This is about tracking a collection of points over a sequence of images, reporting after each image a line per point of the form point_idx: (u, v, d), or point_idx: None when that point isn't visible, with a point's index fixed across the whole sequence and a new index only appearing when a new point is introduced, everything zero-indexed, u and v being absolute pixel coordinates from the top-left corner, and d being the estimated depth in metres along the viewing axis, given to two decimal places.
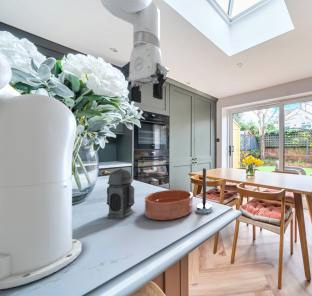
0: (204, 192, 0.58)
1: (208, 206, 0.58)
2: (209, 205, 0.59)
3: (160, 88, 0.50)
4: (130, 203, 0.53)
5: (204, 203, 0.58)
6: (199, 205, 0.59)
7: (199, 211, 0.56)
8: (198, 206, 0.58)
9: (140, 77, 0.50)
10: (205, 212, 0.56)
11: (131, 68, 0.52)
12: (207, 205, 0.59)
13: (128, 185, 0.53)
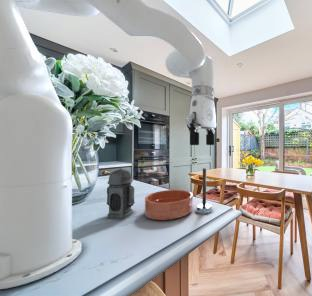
0: (204, 192, 0.58)
1: (208, 206, 0.58)
2: (209, 205, 0.59)
3: None
4: (130, 203, 0.53)
5: (204, 203, 0.58)
6: (199, 205, 0.59)
7: (199, 211, 0.56)
8: (198, 206, 0.58)
9: (210, 127, 0.57)
10: (205, 212, 0.56)
11: (203, 115, 0.53)
12: (207, 205, 0.59)
13: (128, 185, 0.53)
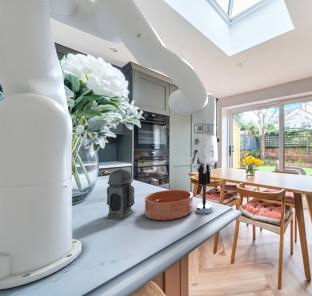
0: (204, 192, 0.58)
1: (208, 206, 0.58)
2: (209, 205, 0.59)
3: None
4: (130, 203, 0.53)
5: (204, 203, 0.58)
6: (199, 205, 0.59)
7: (199, 211, 0.56)
8: (198, 206, 0.58)
9: (211, 162, 0.57)
10: (205, 212, 0.56)
11: (205, 153, 0.54)
12: (207, 205, 0.59)
13: (128, 185, 0.53)
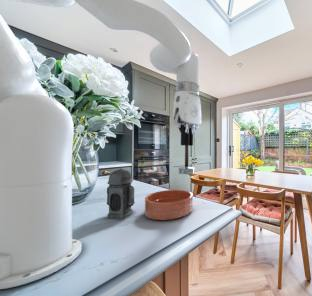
0: (186, 153, 0.57)
1: (190, 168, 0.57)
2: (192, 167, 0.58)
3: None
4: (130, 203, 0.53)
5: (186, 165, 0.57)
6: (182, 167, 0.58)
7: (180, 171, 0.55)
8: (180, 167, 0.57)
9: (194, 123, 0.57)
10: (186, 172, 0.55)
11: (186, 111, 0.53)
12: (190, 167, 0.58)
13: (128, 185, 0.53)
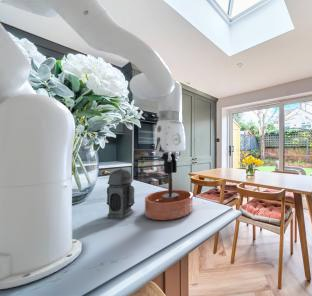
0: (170, 181, 0.57)
1: (173, 195, 0.57)
2: (176, 194, 0.58)
3: None
4: (130, 203, 0.53)
5: (170, 192, 0.57)
6: (166, 194, 0.58)
7: (164, 200, 0.55)
8: (164, 195, 0.57)
9: (177, 151, 0.56)
10: (170, 201, 0.55)
11: (168, 140, 0.53)
12: (174, 194, 0.58)
13: (128, 185, 0.53)
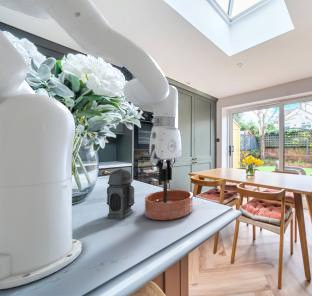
0: (165, 189, 0.55)
1: None
2: None
3: None
4: (130, 203, 0.53)
5: (165, 200, 0.55)
6: (160, 202, 0.56)
7: None
8: None
9: (172, 158, 0.55)
10: None
11: (163, 147, 0.51)
12: (168, 202, 0.56)
13: (128, 185, 0.53)
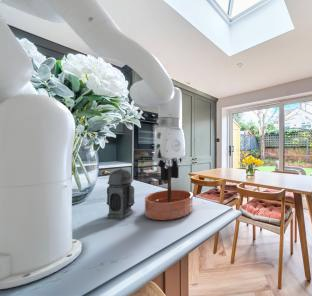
0: (169, 191, 0.56)
1: None
2: None
3: None
4: (130, 203, 0.53)
5: (169, 202, 0.57)
6: None
7: None
8: None
9: (177, 157, 0.56)
10: None
11: (168, 147, 0.52)
12: None
13: (128, 185, 0.53)
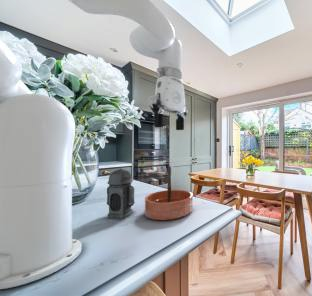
0: (169, 191, 0.56)
1: None
2: None
3: None
4: (130, 203, 0.53)
5: (169, 202, 0.57)
6: None
7: None
8: None
9: (177, 110, 0.56)
10: None
11: (168, 96, 0.52)
12: None
13: (128, 185, 0.53)
